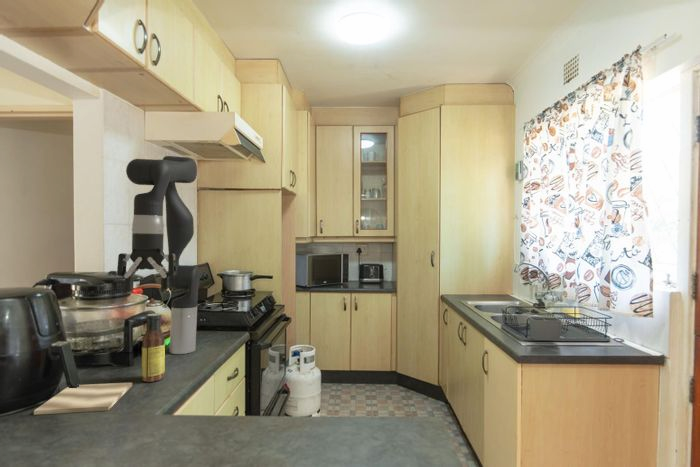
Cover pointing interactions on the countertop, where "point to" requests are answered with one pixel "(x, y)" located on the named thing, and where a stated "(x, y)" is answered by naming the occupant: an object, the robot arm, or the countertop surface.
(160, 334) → the sauce bottle
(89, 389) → the birch board
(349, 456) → the countertop surface
